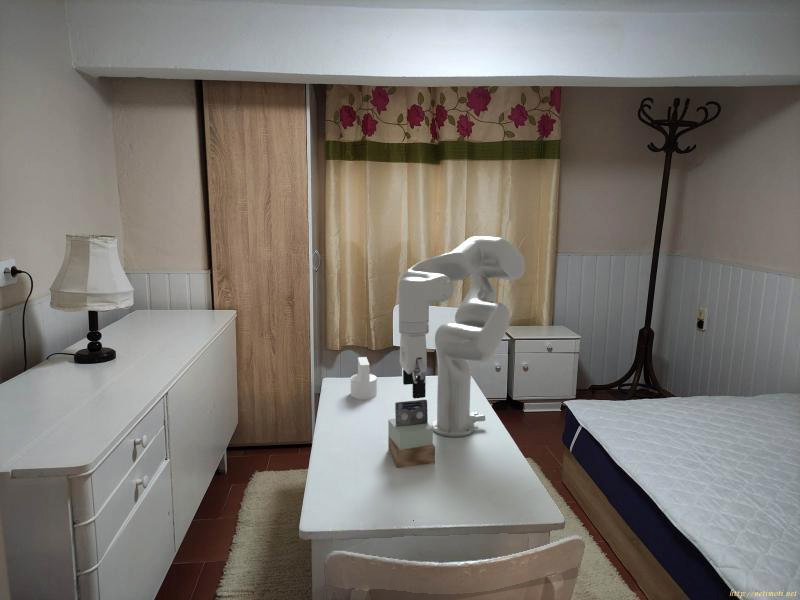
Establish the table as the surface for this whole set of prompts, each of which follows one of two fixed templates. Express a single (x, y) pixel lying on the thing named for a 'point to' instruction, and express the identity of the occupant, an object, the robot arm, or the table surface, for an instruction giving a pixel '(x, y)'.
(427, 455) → the tower base block
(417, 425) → the tower top block
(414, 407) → the mini dv tape
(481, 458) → the table surface
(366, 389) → the base with upright slab
